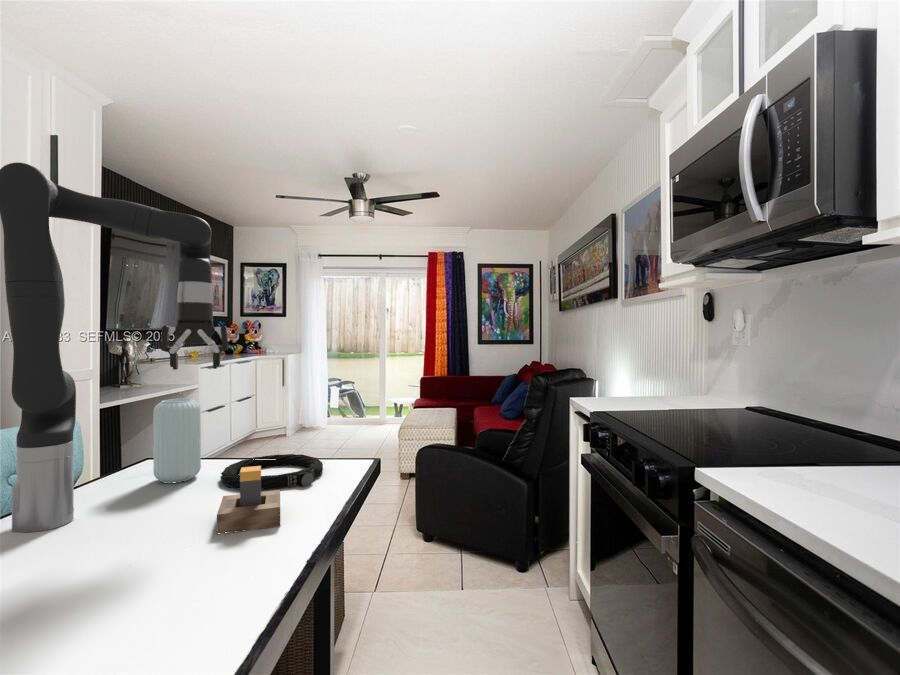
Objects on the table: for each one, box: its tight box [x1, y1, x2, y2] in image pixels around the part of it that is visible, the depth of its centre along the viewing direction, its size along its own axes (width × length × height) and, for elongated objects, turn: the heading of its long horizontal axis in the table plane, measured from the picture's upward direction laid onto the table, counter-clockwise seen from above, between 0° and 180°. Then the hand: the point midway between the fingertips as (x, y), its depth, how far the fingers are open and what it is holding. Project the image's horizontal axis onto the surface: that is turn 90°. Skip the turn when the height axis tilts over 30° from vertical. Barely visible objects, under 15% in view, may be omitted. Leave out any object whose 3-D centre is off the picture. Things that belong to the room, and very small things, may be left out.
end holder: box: [216, 489, 281, 534], centre depth 103 cm, size 12×12×4 cm
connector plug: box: [239, 466, 262, 507], centre depth 103 cm, size 4×4×10 cm
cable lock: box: [220, 453, 324, 490], centre depth 136 cm, size 28×4×30 cm
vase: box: [152, 398, 202, 484], centre depth 134 cm, size 12×12×22 cm
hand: (195, 369), depth 115 cm, fingers open, 8 cm apart
